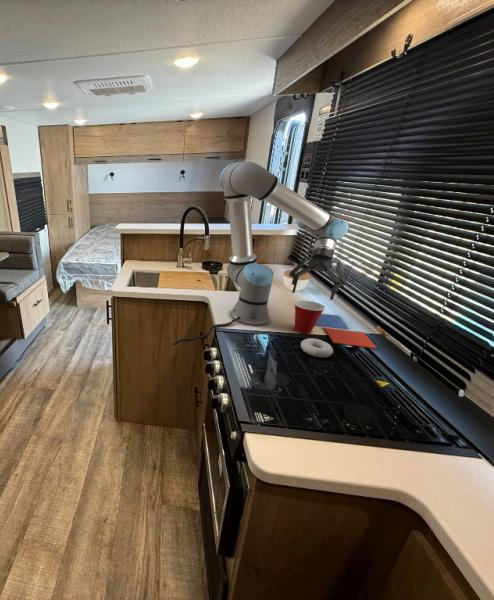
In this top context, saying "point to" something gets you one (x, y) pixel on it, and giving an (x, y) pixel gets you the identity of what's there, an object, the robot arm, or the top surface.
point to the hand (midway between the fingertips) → (312, 294)
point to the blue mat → (331, 321)
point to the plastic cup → (307, 315)
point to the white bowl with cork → (301, 282)
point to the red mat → (349, 338)
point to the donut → (316, 348)
